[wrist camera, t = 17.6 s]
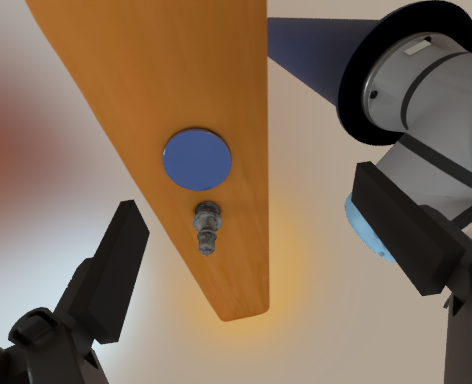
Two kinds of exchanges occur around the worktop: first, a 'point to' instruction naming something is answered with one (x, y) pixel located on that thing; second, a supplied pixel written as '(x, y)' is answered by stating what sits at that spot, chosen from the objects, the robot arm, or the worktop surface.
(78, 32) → the worktop surface
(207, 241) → the grey tall tiered piece
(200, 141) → the plate
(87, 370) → the robot arm
